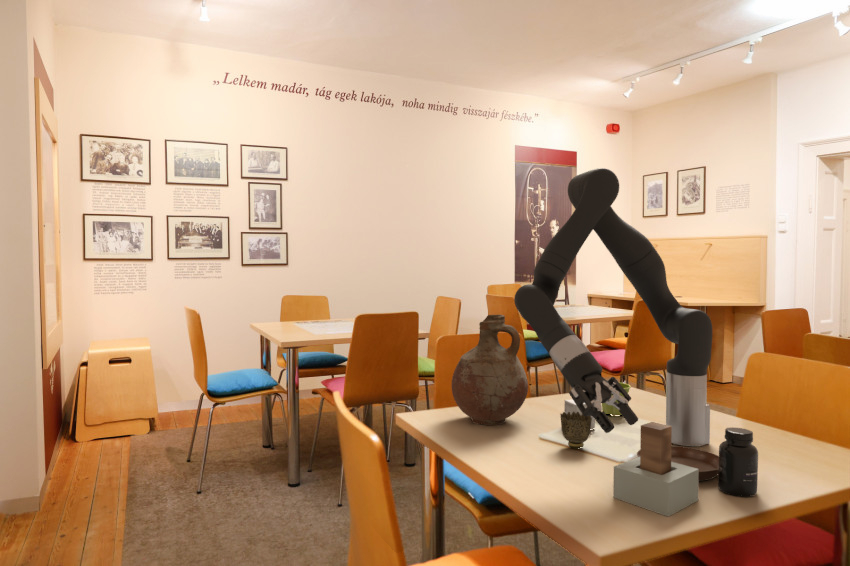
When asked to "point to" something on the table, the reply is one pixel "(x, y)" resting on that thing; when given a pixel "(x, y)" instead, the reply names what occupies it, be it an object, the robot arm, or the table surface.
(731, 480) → the supplement bottle
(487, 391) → the jug
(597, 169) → the robot arm
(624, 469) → the socket block
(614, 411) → the plant pot
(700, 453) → the plant saucer
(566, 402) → the product box
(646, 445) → the brown wooden bar
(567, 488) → the table surface
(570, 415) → the cup
